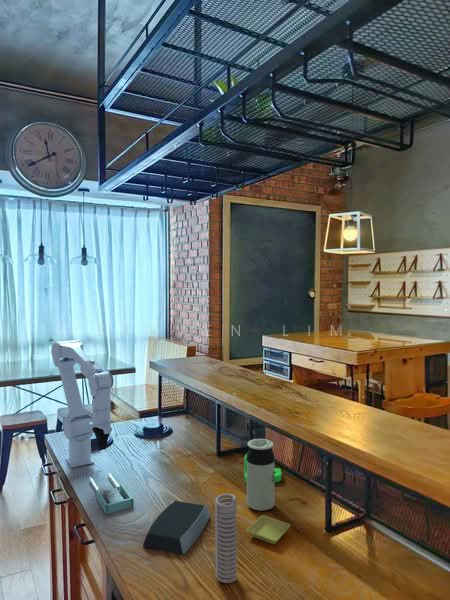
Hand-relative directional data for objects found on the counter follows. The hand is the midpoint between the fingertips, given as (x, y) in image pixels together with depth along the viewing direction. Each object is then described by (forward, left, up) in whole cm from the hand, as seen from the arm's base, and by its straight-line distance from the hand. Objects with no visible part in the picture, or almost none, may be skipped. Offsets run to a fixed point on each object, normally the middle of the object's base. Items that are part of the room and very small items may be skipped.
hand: (102, 448), depth 144 cm
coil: (+64, +10, -10) cm, 65 cm away
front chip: (+20, -2, -10) cm, 22 cm away
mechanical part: (+28, +45, -10) cm, 54 cm away
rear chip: (+16, -2, -10) cm, 19 cm away
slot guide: (+8, -2, -9) cm, 12 cm away
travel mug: (+42, +35, -10) cm, 55 cm away
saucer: (+55, +28, -10) cm, 62 cm away
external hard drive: (+41, +9, -10) cm, 44 cm away
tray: (+19, -2, -9) cm, 21 cm away
